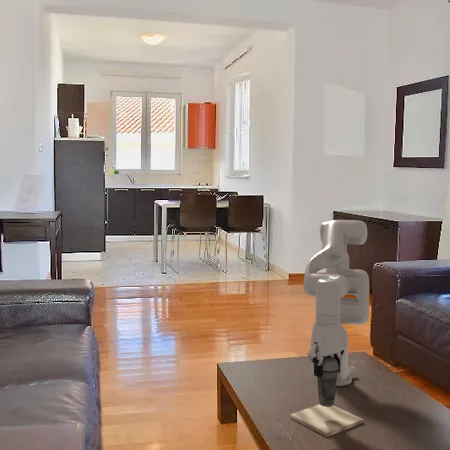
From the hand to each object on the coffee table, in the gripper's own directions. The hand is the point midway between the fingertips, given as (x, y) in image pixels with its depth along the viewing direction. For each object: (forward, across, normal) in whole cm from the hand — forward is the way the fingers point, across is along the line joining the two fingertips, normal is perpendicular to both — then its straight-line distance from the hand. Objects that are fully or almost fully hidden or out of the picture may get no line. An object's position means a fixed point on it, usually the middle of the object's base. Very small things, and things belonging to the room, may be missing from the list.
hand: (327, 373), depth 176 cm
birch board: (+15, 0, 0) cm, 15 cm away
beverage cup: (+10, 0, 0) cm, 10 cm away
